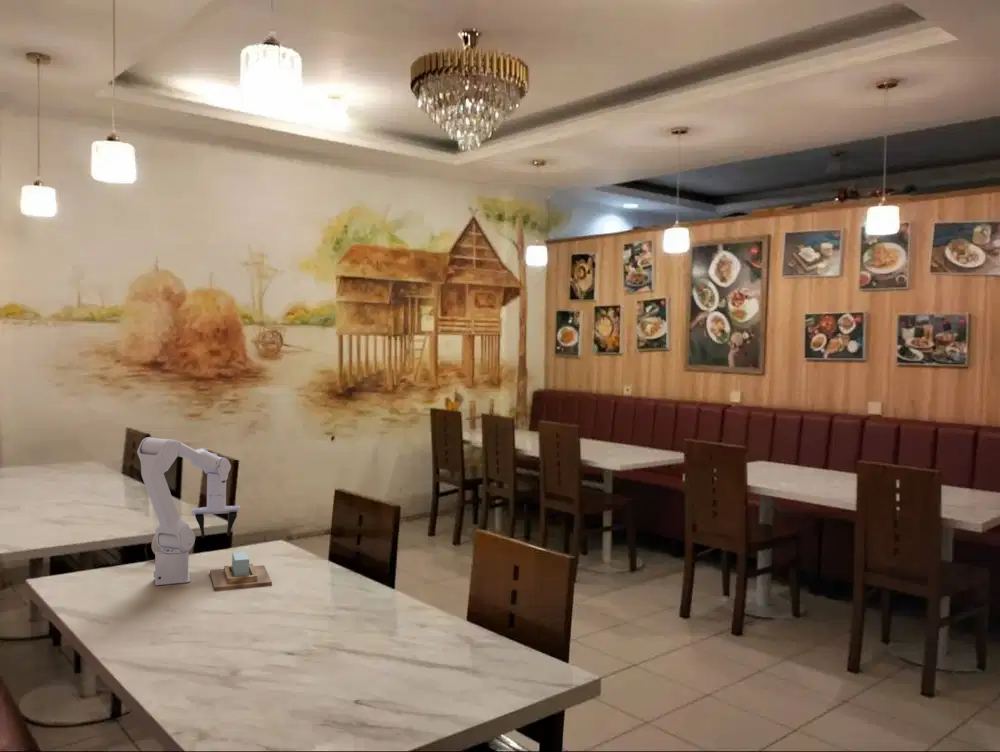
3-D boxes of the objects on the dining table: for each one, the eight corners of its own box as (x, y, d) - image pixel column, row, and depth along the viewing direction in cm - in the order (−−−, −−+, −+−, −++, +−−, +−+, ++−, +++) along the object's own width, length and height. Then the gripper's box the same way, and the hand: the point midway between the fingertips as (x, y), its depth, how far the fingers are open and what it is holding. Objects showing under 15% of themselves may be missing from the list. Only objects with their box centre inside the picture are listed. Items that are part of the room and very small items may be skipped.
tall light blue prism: (234, 580, 222) (235, 560, 222) (231, 571, 230) (232, 552, 230) (248, 579, 224) (249, 559, 223) (245, 570, 232) (245, 551, 232)
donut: (154, 561, 241) (154, 531, 241) (149, 559, 244) (149, 529, 243) (184, 556, 249) (184, 526, 249) (179, 553, 251) (179, 524, 251)
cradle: (214, 590, 215) (214, 582, 215) (210, 573, 231) (210, 565, 231) (271, 585, 222) (271, 576, 222) (263, 568, 238) (264, 560, 238)
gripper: (239, 490, 245) (238, 531, 246) (191, 492, 239) (190, 535, 240) (241, 494, 239) (240, 536, 239) (192, 497, 233) (191, 540, 233)
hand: (215, 536), depth 239 cm, fingers open, 7 cm apart
